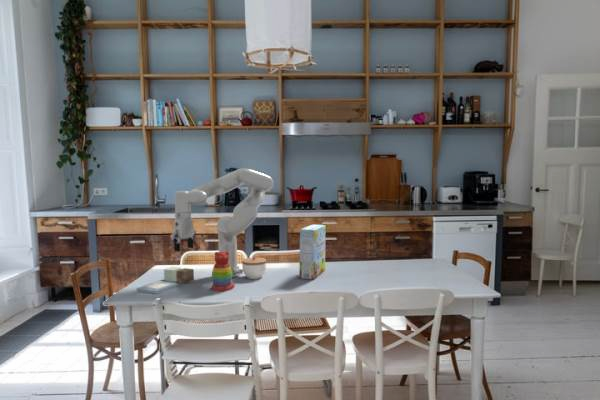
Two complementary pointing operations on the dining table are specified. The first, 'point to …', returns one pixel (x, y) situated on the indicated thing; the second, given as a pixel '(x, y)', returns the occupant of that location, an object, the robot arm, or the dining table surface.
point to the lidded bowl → (254, 267)
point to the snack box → (312, 251)
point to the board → (157, 287)
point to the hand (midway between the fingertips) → (184, 249)
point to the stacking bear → (222, 273)
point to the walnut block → (185, 275)
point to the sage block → (170, 274)
